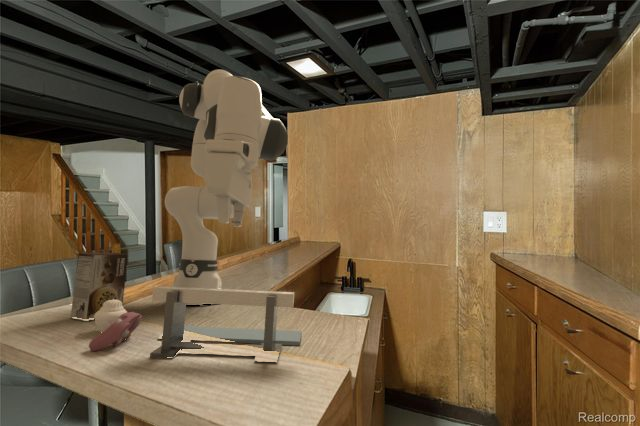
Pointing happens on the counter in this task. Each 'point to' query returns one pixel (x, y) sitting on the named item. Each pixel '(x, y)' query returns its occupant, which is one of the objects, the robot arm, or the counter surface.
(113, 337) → the video game controller
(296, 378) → the counter surface
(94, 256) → the coffee box
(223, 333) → the slate mat
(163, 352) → the rail rack
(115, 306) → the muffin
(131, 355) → the counter surface
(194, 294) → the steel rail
